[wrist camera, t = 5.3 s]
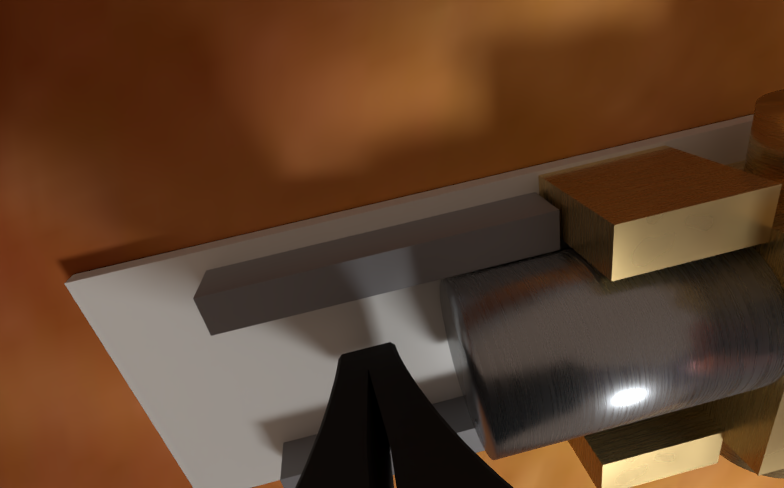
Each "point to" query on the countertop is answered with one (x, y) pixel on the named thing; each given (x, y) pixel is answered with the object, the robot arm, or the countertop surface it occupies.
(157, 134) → the countertop surface
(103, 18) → the countertop surface
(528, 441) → the metal cylinder
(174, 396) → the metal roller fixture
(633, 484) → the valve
